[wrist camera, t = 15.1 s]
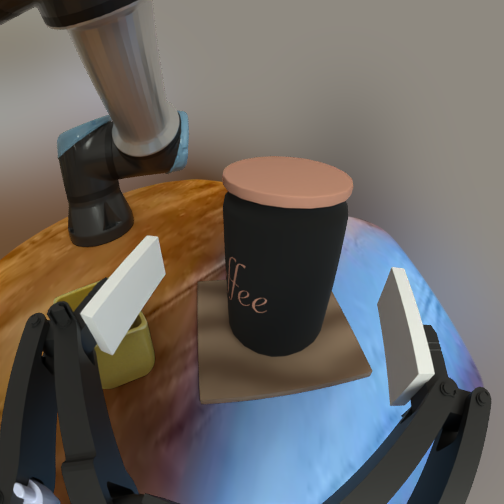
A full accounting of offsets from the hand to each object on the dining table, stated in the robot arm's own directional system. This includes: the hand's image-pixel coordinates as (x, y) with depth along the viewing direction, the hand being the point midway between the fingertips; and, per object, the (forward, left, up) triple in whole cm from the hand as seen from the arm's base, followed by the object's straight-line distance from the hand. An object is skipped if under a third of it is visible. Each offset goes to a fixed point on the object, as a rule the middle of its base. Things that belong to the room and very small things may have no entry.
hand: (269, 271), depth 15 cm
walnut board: (-9, +3, -16) cm, 19 cm away
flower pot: (-5, -15, -17) cm, 23 cm away
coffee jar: (-9, +3, -16) cm, 18 cm away
